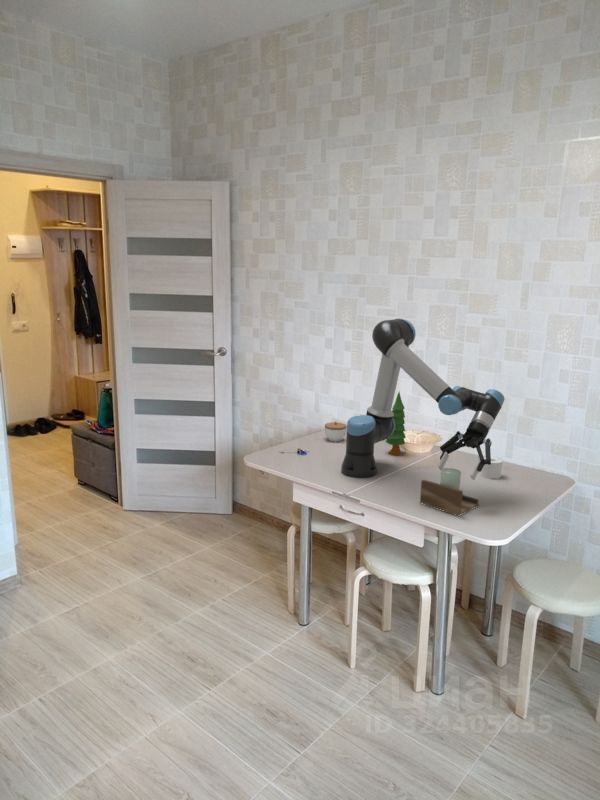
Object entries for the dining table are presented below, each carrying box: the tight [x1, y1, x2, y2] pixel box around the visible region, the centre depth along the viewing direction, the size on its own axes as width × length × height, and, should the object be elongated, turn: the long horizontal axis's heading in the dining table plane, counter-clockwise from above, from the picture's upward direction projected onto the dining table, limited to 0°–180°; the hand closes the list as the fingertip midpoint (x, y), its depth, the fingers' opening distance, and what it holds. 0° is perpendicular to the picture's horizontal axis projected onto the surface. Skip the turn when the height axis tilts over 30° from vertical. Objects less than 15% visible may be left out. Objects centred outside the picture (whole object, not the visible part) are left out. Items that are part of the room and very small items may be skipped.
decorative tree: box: [385, 391, 406, 456], centre depth 284 cm, size 10×9×30 cm
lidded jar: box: [324, 421, 347, 443], centre depth 305 cm, size 11×11×9 cm
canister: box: [439, 467, 462, 490], centre depth 223 cm, size 7×7×12 cm
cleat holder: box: [419, 479, 480, 516], centre depth 224 cm, size 14×16×9 cm
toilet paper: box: [477, 456, 503, 480], centre depth 258 cm, size 8×11×7 cm
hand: (455, 472), depth 224 cm, fingers open, 13 cm apart
